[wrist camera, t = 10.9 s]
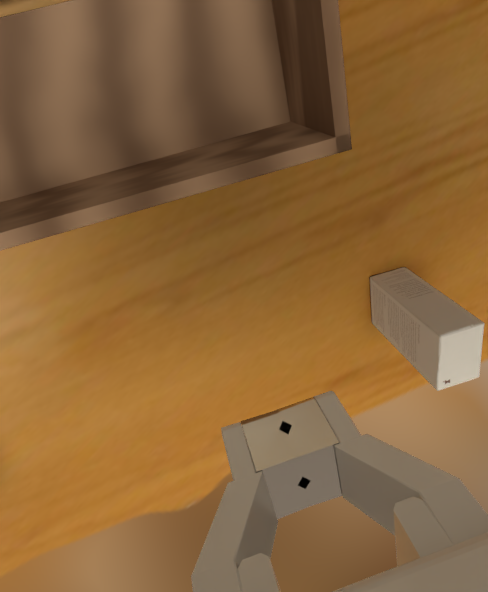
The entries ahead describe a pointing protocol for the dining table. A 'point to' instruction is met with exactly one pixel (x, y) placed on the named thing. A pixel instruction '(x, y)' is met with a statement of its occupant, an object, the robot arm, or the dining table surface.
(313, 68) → the crate
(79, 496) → the dining table surface
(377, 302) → the skincare box
